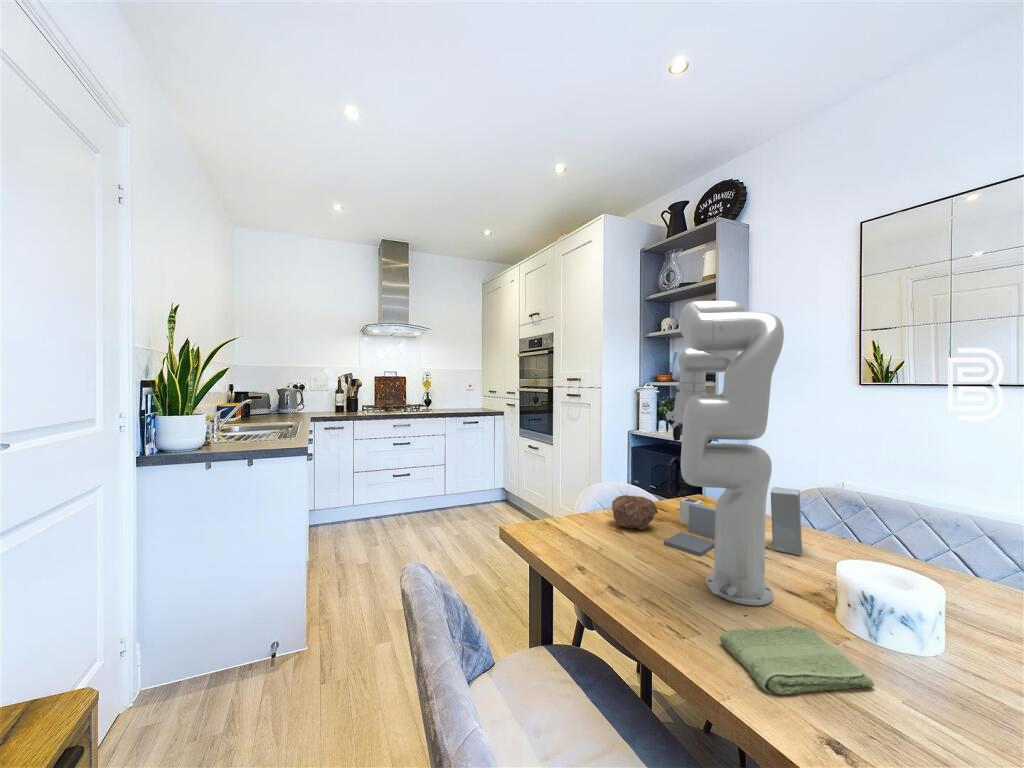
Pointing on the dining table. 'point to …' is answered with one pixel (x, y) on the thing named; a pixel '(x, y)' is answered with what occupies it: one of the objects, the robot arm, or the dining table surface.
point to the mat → (689, 543)
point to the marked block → (687, 509)
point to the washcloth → (793, 660)
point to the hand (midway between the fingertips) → (691, 442)
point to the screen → (702, 520)
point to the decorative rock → (633, 511)
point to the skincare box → (786, 520)
